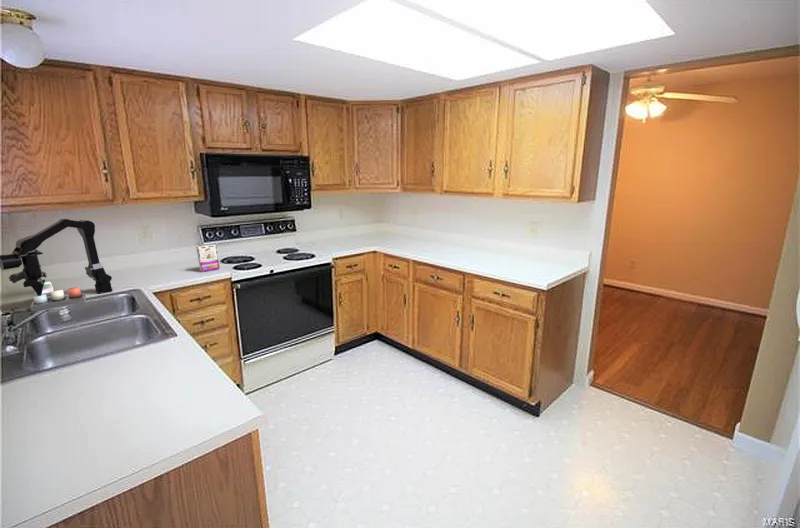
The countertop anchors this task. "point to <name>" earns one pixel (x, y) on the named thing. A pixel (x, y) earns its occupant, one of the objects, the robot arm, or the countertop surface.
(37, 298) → the blue button
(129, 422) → the countertop surface
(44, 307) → the console
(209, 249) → the candy bar box
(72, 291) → the red button
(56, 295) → the ivory button
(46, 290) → the syrup box
